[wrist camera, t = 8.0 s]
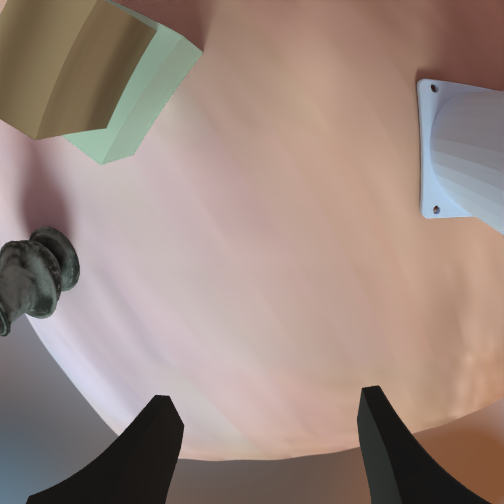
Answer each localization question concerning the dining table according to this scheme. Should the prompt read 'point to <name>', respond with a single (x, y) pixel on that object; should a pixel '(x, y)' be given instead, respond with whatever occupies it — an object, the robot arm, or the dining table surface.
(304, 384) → the dining table surface
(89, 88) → the walnut block
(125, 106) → the base block
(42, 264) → the dark green chess piece
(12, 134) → the dining table surface
